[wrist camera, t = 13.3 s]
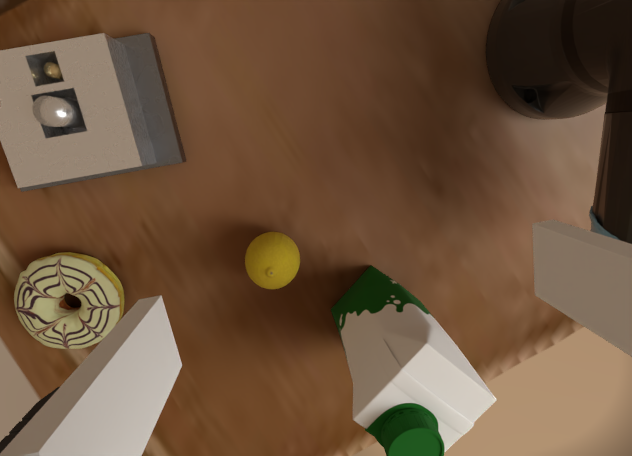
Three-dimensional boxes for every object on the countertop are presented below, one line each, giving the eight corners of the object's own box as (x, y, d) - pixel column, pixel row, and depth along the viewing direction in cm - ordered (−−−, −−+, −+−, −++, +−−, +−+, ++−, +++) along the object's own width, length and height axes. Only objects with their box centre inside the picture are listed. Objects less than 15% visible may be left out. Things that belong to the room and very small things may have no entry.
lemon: (306, 260, 43) (310, 288, 35) (260, 279, 43) (255, 310, 35) (287, 216, 42) (287, 235, 34) (240, 235, 42) (230, 258, 34)
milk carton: (319, 310, 45) (345, 444, 25) (371, 253, 43) (439, 347, 24) (373, 351, 46) (436, 505, 27) (424, 297, 45) (528, 418, 26)
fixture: (154, 37, 37) (124, 14, 30) (186, 161, 39) (165, 166, 33) (-14, 65, 36) (-84, 49, 29) (31, 189, 39) (-23, 200, 32)
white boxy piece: (156, 162, 38) (142, 165, 34) (45, 182, 37) (17, 188, 34) (124, 44, 35) (104, 33, 31) (4, 64, 35) (-31, 55, 31)
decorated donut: (8, 293, 42) (-19, 308, 38) (74, 227, 40) (53, 236, 37) (85, 354, 44) (66, 373, 40) (149, 293, 43) (136, 308, 39)
